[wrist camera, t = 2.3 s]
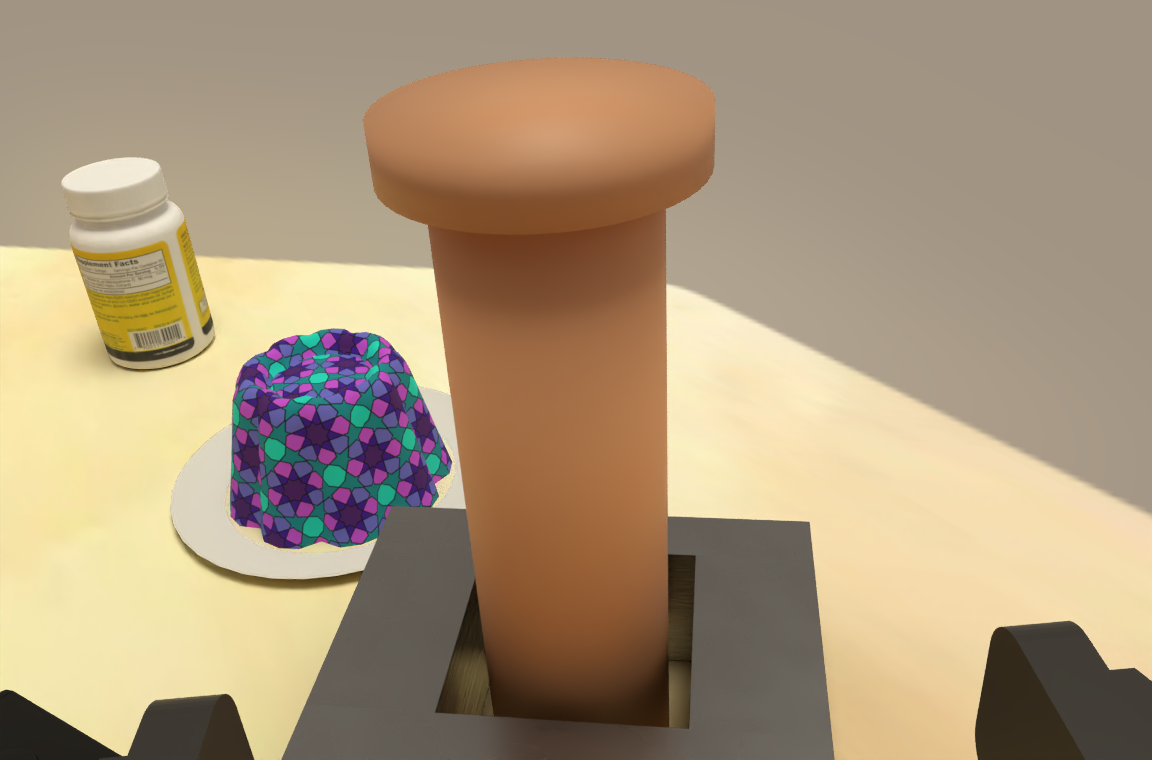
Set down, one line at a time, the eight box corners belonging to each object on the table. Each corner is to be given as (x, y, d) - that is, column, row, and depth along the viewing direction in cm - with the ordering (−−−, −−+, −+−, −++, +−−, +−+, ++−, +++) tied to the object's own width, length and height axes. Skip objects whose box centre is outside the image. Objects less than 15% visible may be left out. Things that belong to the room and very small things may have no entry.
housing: (313, 871, 25) (280, 761, 23) (409, 607, 33) (391, 506, 31) (824, 915, 23) (838, 801, 21) (800, 626, 31) (809, 521, 29)
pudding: (523, 564, 35) (510, 434, 32) (149, 623, 33) (102, 492, 30) (486, 381, 45) (473, 270, 42) (198, 420, 43) (166, 307, 40)
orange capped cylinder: (440, 832, 26) (313, 165, 17) (489, 642, 31) (414, 61, 22) (700, 853, 25) (713, 162, 16) (705, 654, 30) (716, 54, 21)
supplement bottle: (161, 315, 51) (113, 148, 47) (237, 330, 49) (194, 159, 45) (85, 362, 47) (25, 186, 43) (164, 380, 46) (110, 199, 41)
